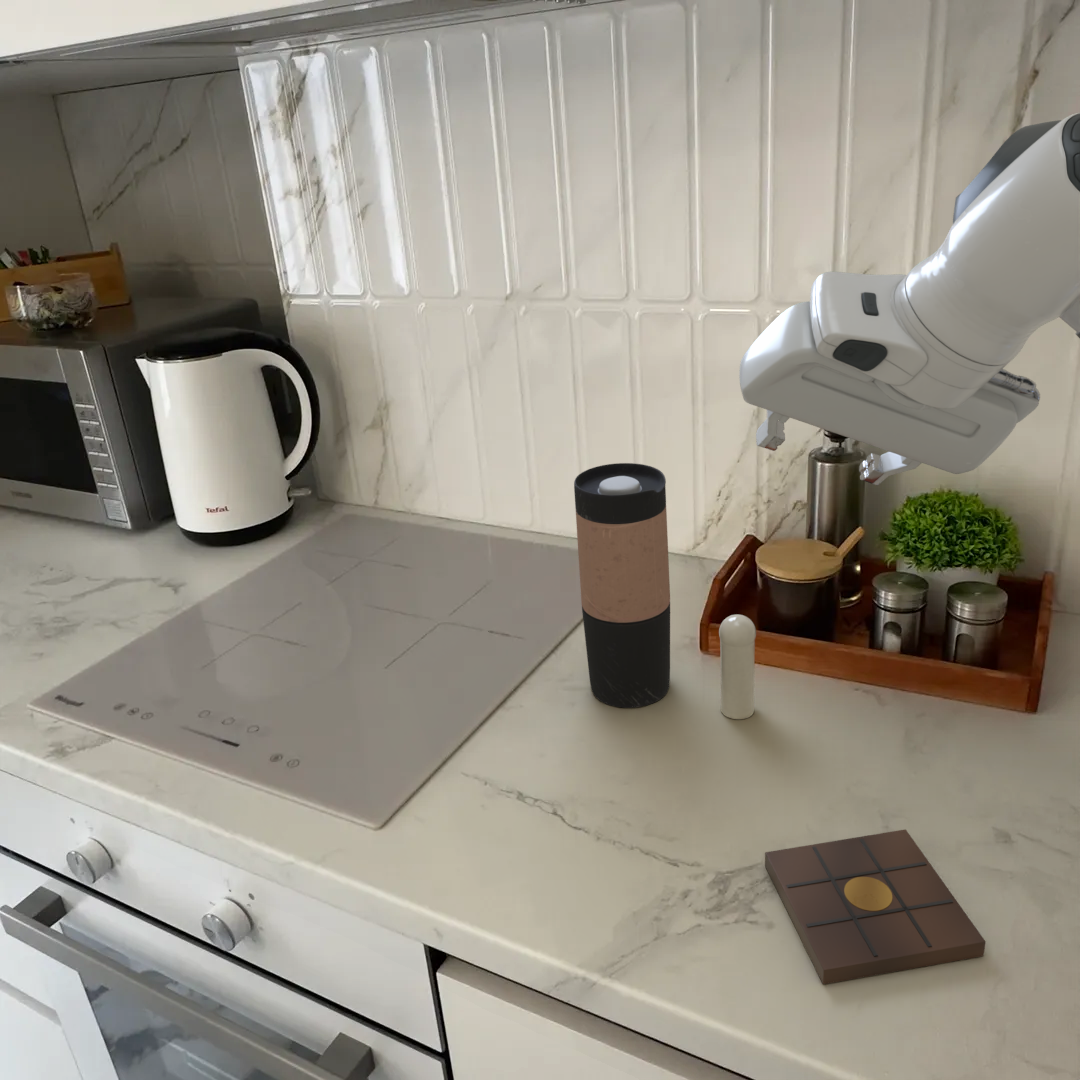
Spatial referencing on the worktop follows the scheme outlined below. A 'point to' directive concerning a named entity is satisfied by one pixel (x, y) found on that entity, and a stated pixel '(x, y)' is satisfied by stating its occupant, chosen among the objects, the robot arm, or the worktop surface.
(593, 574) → the travel mug
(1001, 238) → the robot arm
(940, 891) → the board
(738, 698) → the white round-top peg
